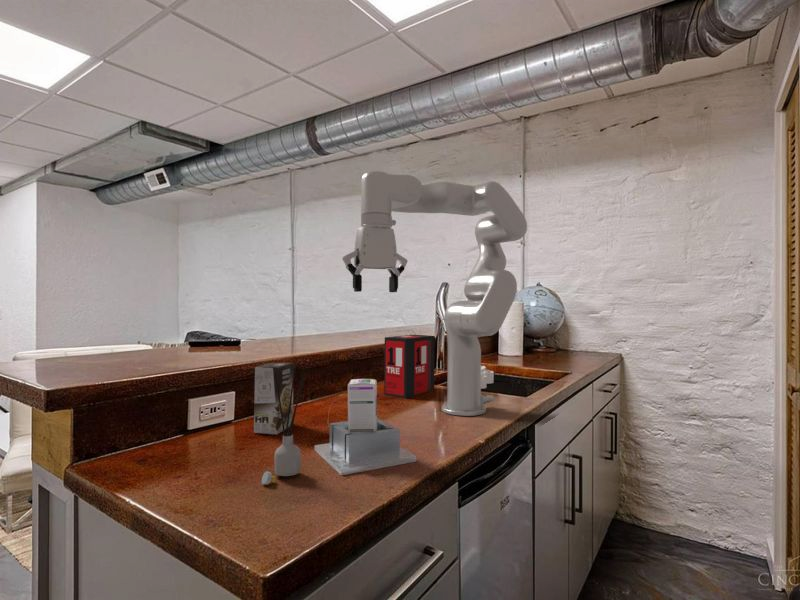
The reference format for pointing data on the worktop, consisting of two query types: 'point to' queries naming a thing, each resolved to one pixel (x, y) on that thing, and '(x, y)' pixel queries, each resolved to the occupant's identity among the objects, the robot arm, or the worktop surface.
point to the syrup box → (362, 405)
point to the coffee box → (272, 397)
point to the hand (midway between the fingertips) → (375, 291)
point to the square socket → (363, 448)
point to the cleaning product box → (408, 365)
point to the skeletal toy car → (486, 377)
